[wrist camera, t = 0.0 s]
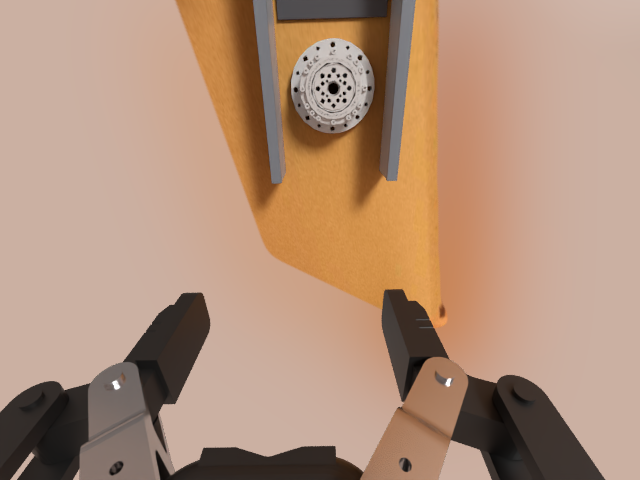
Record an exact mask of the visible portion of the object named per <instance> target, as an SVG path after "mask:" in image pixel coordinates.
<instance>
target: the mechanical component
mask: <svg viewBox="0 0 640 480" xmlns="http://www.w3.org/2000/svg"><path fill="white" fill-rule="evenodd" d="M331 43H334V44H335V47H333V48H332V47H331V45H330V44H331ZM317 47H318V48H319V50H317V49H316V48H317ZM346 47H348V48H349V49H348V50H347V48H346ZM358 56H361V60H358ZM305 57H307V58H308V60H307V61H304V58H305ZM366 71H368V74H366ZM297 72H299V75H297ZM333 72H335V73H333ZM323 75H324V78H322V76H323ZM328 75H330V76H331V78H327V76H328ZM337 75H339V78H337ZM314 76H315V77H314ZM326 80H327V81H328V83H327V82H326ZM339 80H340V81H341V82H339ZM331 81H333V82H331ZM321 82H323V83H324V86H322V85H321ZM336 82H337V83H336ZM343 82H346V83H345V85H343ZM331 83H336V84H337V85H338V92H339V93H338V92H337V93H336V94H334V95H332V94H330V93H329V91H328V86H329V85H330V84H331ZM318 86H319V88H320V90H319V91H318ZM339 86H340V88H339ZM368 86H370V87H371V88H370V91H368V90H367V87H368ZM295 87H296V88H298V92H295V91H294V88H295ZM311 88H312V89H311ZM327 91H328V92H327ZM322 92H324V95H321V93H322ZM343 92H345V95H343ZM291 93H292V100H293V103H294V105H295V108H296V111H297V112H298V114H299V115H300V116H301V118H302V119H303V121H304V122H305V123H307V124H308V125H309V126H311V127H312V128H313V129H315V130H318V131H321V132H324V133H341V132H344V131H346V130H349V129H350V128H352V127H354V126H355V125H356V124H357V123H358V122H360V121H361V120H362V118H363V117H364V116H365V114H366V113H367V112H368V109H369V107H370V105H371V103H372V99H373V94H374V75H373V70H372V67H371V65H370V63H369V60H368V59H367V57H366V56H365V55H364V53H363V52H362V51H361V50H360V49H359V48H358V47H356V46H355V45H354V44H352V43H351V42H348V41H345V40H342V39H339V38H331V39H325V40H322V41H318V42H316V43H315V44H313V45H312V46H310V47H309V48H307V49H306V51H305V52H304V53H303V54H302V55H301V56H300V58H299V60H298V61H297V63H296V65H295V67H294V71H293V75H292V79H291ZM326 95H328V97H326ZM331 95H332V96H331ZM339 95H341V96H340V97H339ZM313 96H314V97H313ZM343 98H344V100H343ZM314 99H315V100H314ZM321 99H324V102H322V100H321ZM328 99H330V100H331V101H330V102H329V103H328V101H327V100H328ZM336 99H339V102H336ZM342 100H343V101H342ZM315 101H316V102H317V103H316V102H315ZM364 103H366V105H364ZM298 104H301V107H299V106H298ZM332 104H335V106H331V105H332ZM319 106H320V107H319ZM337 111H338V112H337ZM332 112H335V113H332ZM308 115H309V118H310V119H309V120H306V116H308ZM356 115H359V118H358V119H356V118H355V117H356ZM318 124H320V126H321V127H318ZM344 124H347V126H346V127H345V126H344ZM332 126H333V127H334V130H330V127H332Z"/></svg>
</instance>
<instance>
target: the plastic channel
mask: <svg viewBox="0 0 640 480" xmlns="http://www.w3.org/2000/svg"><path fill="white" fill-rule="evenodd" d="M253 6H254V15H255V25H256V35H257V44H258V54H259V64H260V73H261V83H262V93H263V102H264V112H265V122H266V131H267V141H268V150H269V160H270V170H271V179H272V183H282V180H283V178H284V175H285V173H286V168H285V155H284V143H283V130H282V117H281V105H280V92H279V80H278V67H277V54H276V42H275V29H274V16H273V4H272V0H253ZM414 10H415V0H392V3H391V17H390V30H389V44H388V58H387V71H386V85H385V99H384V113H383V126H382V140H381V154H380V167H379V170H380V172H381V173H382V174H383V175H384V177H385V178H386V180H387V181H397V175H398V165H399V155H400V146H401V136H402V126H403V117H404V107H405V97H406V88H407V78H408V68H409V59H410V49H411V39H412V30H413V20H414Z"/></svg>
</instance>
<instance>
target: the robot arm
mask: <svg viewBox="0 0 640 480" xmlns="http://www.w3.org/2000/svg"><path fill="white" fill-rule="evenodd" d="M209 329H210V318H209V314H208V310H207V307H206V303H205V299H204V296H203V294H202V293H183V294H181V296H180V297H179V299H178V300H177V302H176V303H175V304H174V305H169V306H168V307H167V308H165V309H164V310H163V311H162V312H160V313H159V314H158V316H157V317H156V318H155V320H154V321H153V322H152V325H150V326H149V328H148V329H147V330H146V333H144V335H143V336H142V337H141V338H140V340H139V341H138V342H137V344H136V345H135V347H134V348H133V349H132V351H131V352H130V354H129V355H128V356H127V357H126V359H125V360H124V361H123V362H122V363H118V364H116V365H113V366H111V367H109V368H107V369H105V370H104V371H102V372H101V373H100V374H99V375H97V376H96V377H95V378H94V380H93V381H92V382H91V383H89V384H86V385H82V386H79V387H75V388H71V389H68V390H64V389H63V388H62V386H61V385H60V384H59V383H58V382H55V381H49V382H44V383H40V384H38V385H35V386H33V387H31V388H29V389H27V390H25V391H24V392H22V393H21V394H19V395H18V396H17V397H15V398H14V399H13V400H12V401H11V402H10V403H9V404H8V405H7V406H6V407H5V408H4V409H3V410H2V411H1V412H0V480H10V479H11V478H12V477H13V475H14V474H15V473H16V471H17V470H18V469H19V467H20V466H21V465H22V463H23V462H24V461H25V459H26V458H27V457H28V455H29V454H30V453H31V452H32V453H33V454H34V455H35V456H34V458H33V459H32V460H31V462H30V463H29V464H28V466H27V467H26V468H25V470H24V471H23V472H22V474H21V475H20V476H19V478H18V479H17V480H73V478H74V477H75V475H76V473H77V472H78V470H79V468H80V475H79V480H438V479H439V475H440V472H441V469H442V466H443V463H444V460H445V457H446V453H447V450H448V447H449V444H450V441H451V440H453V441H456V442H459V443H462V444H465V445H468V446H471V447H474V448H477V449H480V451H481V453H482V456H483V458H484V461H485V463H486V466H487V468H488V471H489V473H490V476H491V478H492V480H605V479H604V477H603V476H602V475H601V473H600V472H599V470H598V469H597V467H596V466H595V464H594V463H593V461H592V460H591V459H590V457H589V456H588V454H587V453H586V452H585V450H584V449H583V447H582V446H581V444H580V443H579V441H578V440H577V438H576V437H575V435H574V434H573V433H572V431H571V430H570V428H569V427H568V425H567V424H566V423H565V421H564V420H563V418H562V417H561V415H560V414H559V412H558V411H557V410H556V408H555V407H554V405H553V404H552V402H551V401H550V400H549V398H548V396H547V395H546V394H545V393H544V392H543V391H542V390H541V389H540V388H539V387H538V386H537V385H535V384H534V383H532V382H531V381H529V380H527V379H525V378H522V377H519V376H515V375H506V376H503V377H501V378H500V379H499V380H498V382H497V383H493V382H489V381H485V380H481V379H478V378H474V377H471V376H469V375H467V374H466V373H465V372H464V370H463V369H462V368H461V367H460V366H459V365H458V364H456V363H455V362H453V361H451V360H450V359H449V358H448V355H447V353H446V351H445V349H444V347H443V345H442V343H441V341H440V339H439V337H438V335H437V333H436V331H435V329H434V328H433V325H432V323H431V321H430V320H429V317H428V315H427V313H426V311H425V309H424V308H423V307H422V306H421V305H420V304H419V303H418V302H416V301H408V300H407V297H406V295H405V293H404V291H403V290H402V289H392V290H385V291H384V299H383V309H382V329H383V333H384V337H385V341H386V344H387V348H388V352H389V355H390V359H391V363H392V366H393V370H394V374H395V378H396V382H397V385H398V389H399V393H400V396H401V400H402V402H404V404H403V406H402V407H401V408H400V407H398V408H397V410H396V411H395V413H394V415H393V417H392V419H391V421H390V423H389V424H388V427H387V428H386V430H385V432H384V434H383V436H382V438H381V440H380V442H379V444H378V446H377V448H376V450H375V452H374V454H373V455H372V458H371V459H370V461H369V464H368V465H367V467H366V469H365V471H364V472H362V471H361V470H360V469H359V468H358V467H356V466H355V465H353V464H352V463H350V462H348V461H346V460H344V459H341V458H337V457H336V449H335V446H317V447H316V446H315V447H313V446H310V447H309V446H308V447H300V448H297V449H293V450H290V451H287V452H284V453H280V454H277V455H274V456H270V457H266V456H262V455H259V454H255V453H252V452H248V451H245V450H243V449H239V448H236V447H231V448H203V451H202V454H201V458H200V460H198V461H195V462H193V463H191V464H189V465H187V466H185V467H183V468H181V469H180V470H178V471H177V472H175V470H174V467H173V464H172V461H171V458H170V454H169V449H168V445H167V442H166V437H165V433H164V429H163V425H162V421H161V417H160V414H159V411H160V409H161V407H162V405H163V404H175V403H176V401H177V399H178V397H179V395H180V392H181V390H182V388H183V386H184V384H185V381H186V380H187V378H188V376H189V374H190V371H191V369H192V367H193V365H194V363H195V361H196V359H197V357H198V354H199V352H200V350H201V348H202V346H203V344H204V342H205V339H206V337H207V335H208V333H209Z"/></svg>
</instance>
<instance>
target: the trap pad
mask: <svg viewBox="0 0 640 480" xmlns="http://www.w3.org/2000/svg"><path fill="white" fill-rule="evenodd" d="M387 2H388V0H277V14H278V20H300V19H334V18H367V17H386V16H387Z"/></svg>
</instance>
